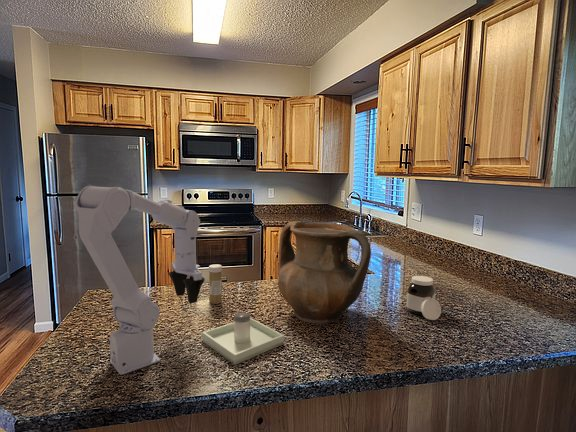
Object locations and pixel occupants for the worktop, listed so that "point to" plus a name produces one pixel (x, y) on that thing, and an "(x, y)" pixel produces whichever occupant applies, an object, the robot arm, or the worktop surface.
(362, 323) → the worktop surface
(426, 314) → the spread jar
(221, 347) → the tray
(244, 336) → the cylinder
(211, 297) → the sprinkles bottle
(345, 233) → the jug
